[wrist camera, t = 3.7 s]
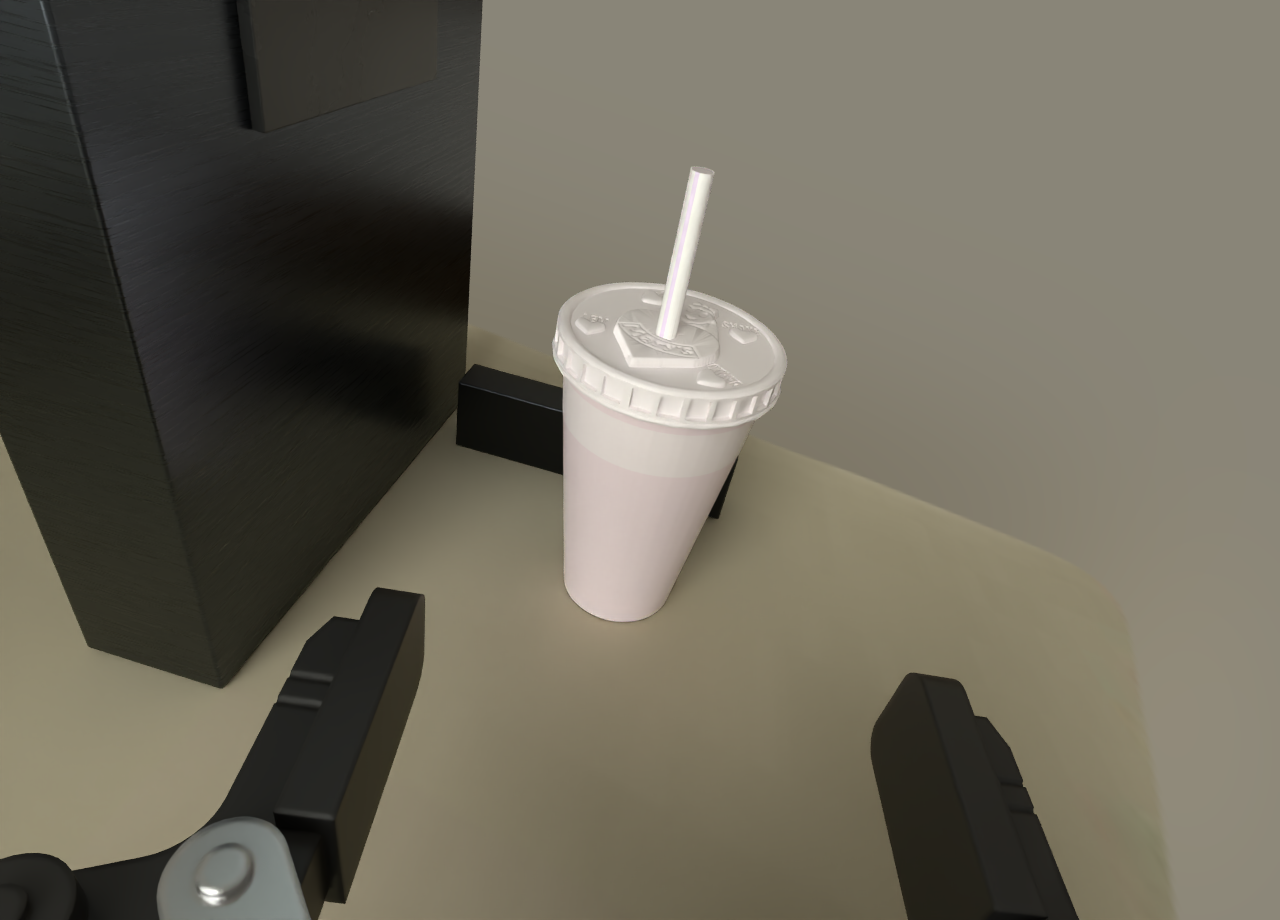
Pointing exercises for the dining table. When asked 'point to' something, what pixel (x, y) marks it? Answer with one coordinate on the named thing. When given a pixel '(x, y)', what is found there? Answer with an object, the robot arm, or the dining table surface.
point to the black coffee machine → (235, 298)
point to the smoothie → (653, 422)
